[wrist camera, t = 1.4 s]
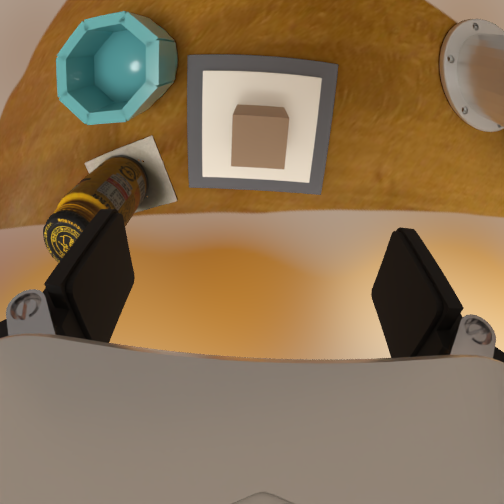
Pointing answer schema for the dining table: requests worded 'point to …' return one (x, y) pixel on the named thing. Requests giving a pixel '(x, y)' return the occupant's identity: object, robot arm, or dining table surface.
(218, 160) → the lid
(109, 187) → the condiment
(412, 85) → the dining table surface
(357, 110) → the dining table surface
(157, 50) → the bowl
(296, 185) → the mat
